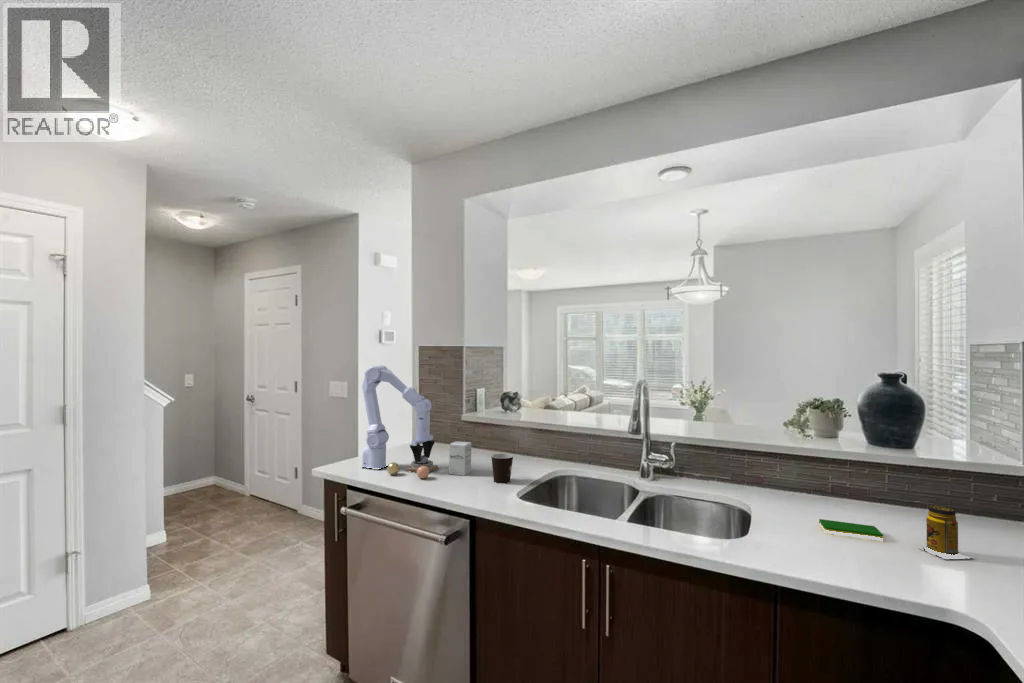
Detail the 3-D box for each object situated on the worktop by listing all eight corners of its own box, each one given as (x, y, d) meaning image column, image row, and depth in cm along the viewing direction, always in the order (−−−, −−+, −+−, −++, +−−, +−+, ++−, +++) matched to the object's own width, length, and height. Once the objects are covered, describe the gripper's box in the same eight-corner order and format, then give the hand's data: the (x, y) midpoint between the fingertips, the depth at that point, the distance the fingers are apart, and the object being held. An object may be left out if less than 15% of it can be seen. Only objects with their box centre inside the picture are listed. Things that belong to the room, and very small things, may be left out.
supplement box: (448, 474, 188) (448, 443, 188) (455, 470, 195) (456, 440, 196) (464, 476, 186) (465, 445, 186) (471, 471, 193) (471, 441, 193)
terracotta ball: (414, 479, 180) (414, 466, 180) (420, 476, 185) (421, 463, 185) (425, 480, 179) (425, 468, 179) (431, 477, 183) (431, 465, 183)
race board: (405, 471, 192) (405, 463, 192) (418, 465, 201) (418, 458, 201) (426, 474, 188) (426, 466, 188) (438, 468, 198) (438, 460, 198)
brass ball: (384, 475, 185) (384, 463, 185) (391, 472, 190) (391, 460, 190) (394, 476, 183) (395, 464, 183) (401, 473, 188) (402, 461, 188)
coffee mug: (503, 485, 173) (504, 459, 174) (486, 481, 179) (486, 456, 179) (521, 479, 183) (521, 454, 183) (504, 475, 188) (505, 451, 188)
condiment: (917, 548, 123) (917, 503, 123) (945, 547, 123) (945, 503, 124) (945, 561, 115) (945, 513, 116) (975, 560, 116) (975, 512, 116)
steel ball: (413, 467, 193) (414, 455, 193) (420, 465, 198) (420, 453, 198) (424, 468, 191) (424, 456, 192) (430, 466, 196) (430, 455, 196)
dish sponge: (818, 526, 138) (818, 518, 138) (874, 534, 133) (874, 525, 133) (824, 535, 132) (824, 526, 132) (883, 543, 126) (883, 534, 126)
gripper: (422, 431, 187) (421, 464, 186) (439, 425, 200) (438, 456, 200) (407, 429, 189) (406, 462, 189) (425, 424, 203) (424, 455, 202)
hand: (422, 459), depth 195 cm, fingers open, 7 cm apart
